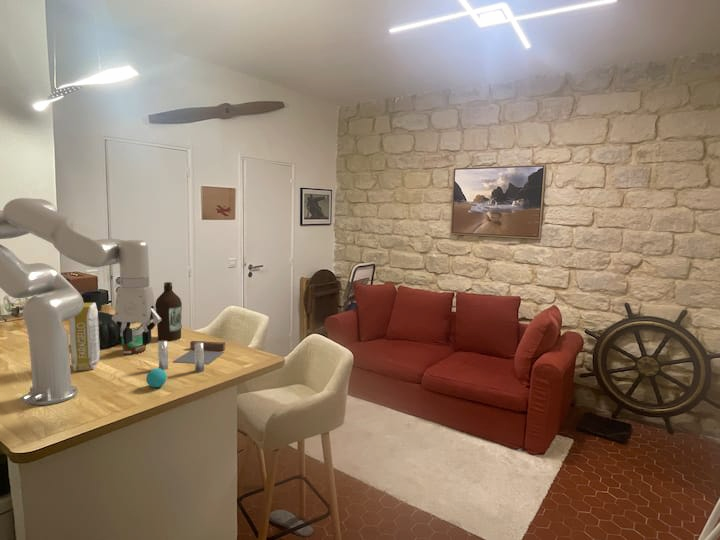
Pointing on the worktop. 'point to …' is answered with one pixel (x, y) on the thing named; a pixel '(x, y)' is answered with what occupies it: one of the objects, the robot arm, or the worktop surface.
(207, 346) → the stopper wall
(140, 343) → the food container
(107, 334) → the squash
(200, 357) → the post right
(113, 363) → the worktop surface
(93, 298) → the pen holder
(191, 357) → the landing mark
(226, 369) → the worktop surface
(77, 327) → the juice carton
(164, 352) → the post left
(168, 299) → the olive oil
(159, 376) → the ball
